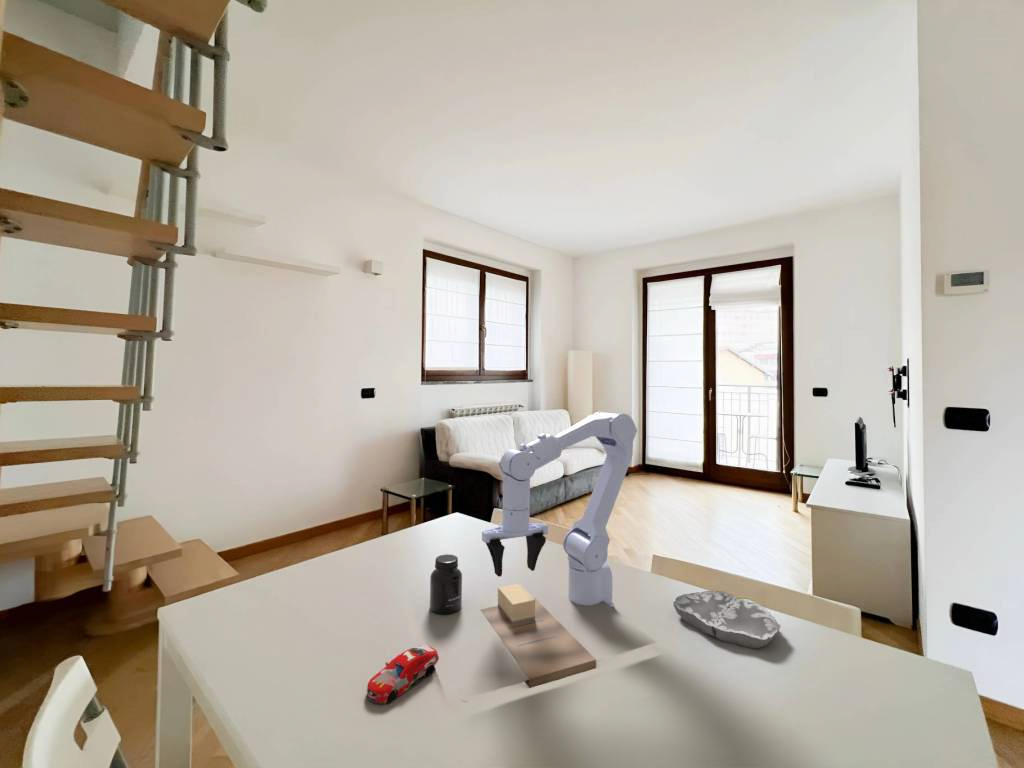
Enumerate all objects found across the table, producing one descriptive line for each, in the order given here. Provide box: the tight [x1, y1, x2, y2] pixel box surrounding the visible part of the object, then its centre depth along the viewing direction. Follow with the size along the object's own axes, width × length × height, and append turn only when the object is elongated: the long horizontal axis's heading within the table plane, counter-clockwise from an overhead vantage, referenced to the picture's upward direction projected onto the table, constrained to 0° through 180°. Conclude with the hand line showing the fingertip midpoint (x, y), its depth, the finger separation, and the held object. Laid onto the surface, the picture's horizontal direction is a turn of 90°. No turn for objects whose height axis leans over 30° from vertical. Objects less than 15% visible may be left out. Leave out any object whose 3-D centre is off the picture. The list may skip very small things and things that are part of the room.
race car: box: [366, 644, 440, 704], centre depth 74 cm, size 13×5×4 cm, turn 141°
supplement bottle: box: [429, 554, 463, 616], centre depth 95 cm, size 7×7×12 cm
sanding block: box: [497, 583, 535, 624], centre depth 93 cm, size 5×8×4 cm, turn 23°
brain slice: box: [673, 590, 781, 649], centre depth 92 cm, size 20×17×3 cm
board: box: [480, 597, 597, 689], centre depth 86 cm, size 24×13×2 cm, turn 24°
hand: (514, 571), depth 93 cm, fingers open, 7 cm apart
